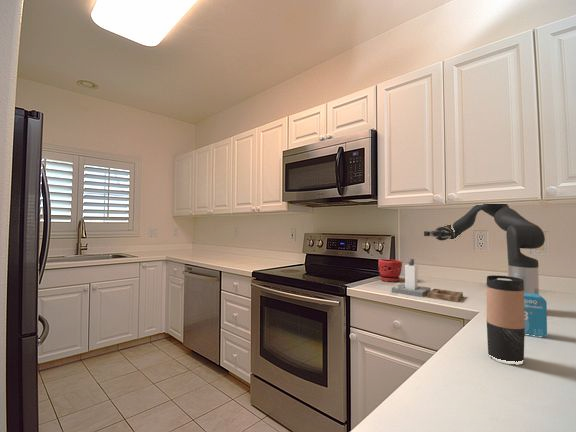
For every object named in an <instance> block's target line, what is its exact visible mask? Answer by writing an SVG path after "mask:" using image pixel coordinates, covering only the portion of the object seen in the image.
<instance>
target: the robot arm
mask: <svg viewBox="0 0 576 432" xmlns="http://www.w3.org/2000/svg"><path fill="white" fill-rule="evenodd" d="M475 205H476V204H475ZM475 205H474V206H473V207H472V208H470V210H469V211H467V212H466V213H465V215H463V216H461V217H460V218H458V219H457V220H456V221H454V223H453V224H450V225H447V224H446V225H447V226H445V225H443V226H444V227H443V226H439V227H437V228H435V230H426V231H423V236H424V237H431V238H435V239H436V240H437V241H448V240H447V239H454V238H456V237H457V236H458V235H460V234H461V233H462V232H463V233H465V232H466V231H467V230H468V229H470V228H471V227H473V226H474V224H475V222H476V218H477V215H478V213H479V212H481V211H483V212H484V213H486V214H488V215H489V216H491V217H492V218H493V220H494V222H495V224H496V225H497V226H498V227H499V228H500V229H501V230H503V231H504V232H506V235H505V236H506V238H505V239H506V249H507V272H508V273H507V274H508V275H507V276H509V277H516V278H520V279H523V281H524V293H530V294H538V295H540V287H539V285H540V283H539V276H540V275H539V260H538V259H536V258H533V257H532V256H531V257H530V256H528V255H525V254H523V253H522V252H521V249H525V250H527V249H529V250H531V249H538V248H541V247H543V246H544V243H545V241H546V238H545V236H546V235H545V233H544V232H543V230H542V229H541V227H540V226H538V225H537V224H535V223H533V222H531V221H529V220H527V219H526V218H525V217H523V216H522V215H521V214H520V213H519V212H517V211H516V210H515V209H513V208H511V207H510V206H509V205H508V204H483V205H476V206H475ZM451 225H452V226H453V228H454V230H455V232H453V230H452V229H451ZM463 233H462V234H463ZM462 234H461V235H462ZM461 235H460V236H461Z"/></svg>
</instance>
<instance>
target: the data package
mask: <svg viewBox="0 0 576 432" xmlns="http://www.w3.org/2000/svg"><path fill="white" fill-rule="evenodd" d="M547 304H548V303H547V300H546V299H545V298H544V297H542V295H540V294H539V295H538V294H530V293H524V318H525V334H529V335H535V336H542V337H543V338H545V337H546V336H547V335H548V314H547V313H548V312H547V311H548V310H547V309H548V308H547V307H548V305H547Z"/></svg>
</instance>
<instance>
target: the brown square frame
mask: <svg viewBox="0 0 576 432" xmlns="http://www.w3.org/2000/svg"><path fill="white" fill-rule="evenodd" d="M426 295H427V298H430V299H434V300H435V299H437V300H443V301H449V302H454V303H459V301H460V300H461V299H462V298H464V292H463V291H462V292H461V291H456V290H455V291H454V290H447V289H441V288H433V289H431V291H430V292H428V293H427V294H426Z"/></svg>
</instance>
